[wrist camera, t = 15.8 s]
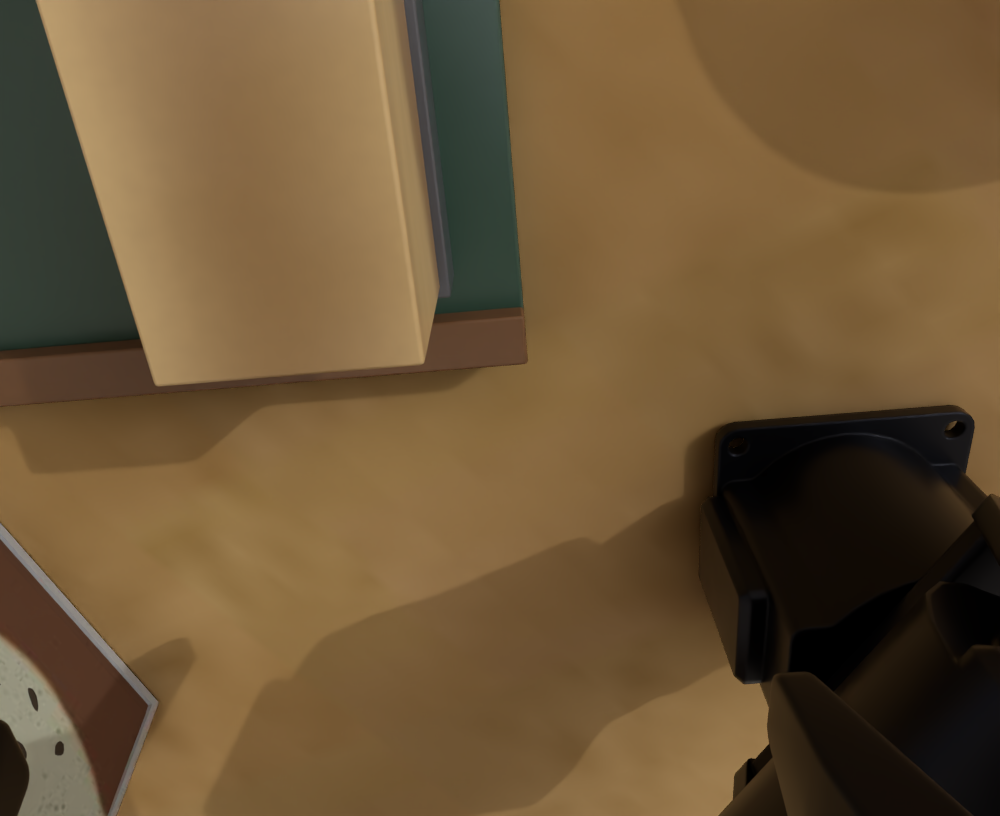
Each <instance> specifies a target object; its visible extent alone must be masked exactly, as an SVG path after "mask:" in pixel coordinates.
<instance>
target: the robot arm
mask: <svg viewBox="0 0 1000 816" xmlns="http://www.w3.org/2000/svg"><path fill="white" fill-rule="evenodd" d="M953 421H957V423H956V425H955V426H954V427H953V428H952V429H951V430H947V431H944V430H945V428H946V426H947V425H948V424H949V423H951V422H953ZM974 428H975V427H974V420H973V419H972V417H971V416H970V415H969V414H968V413H967V412H966V411H964V410H963V409H962V408H960V407H958V406H953V405H946V406H934V407H921V408H908V409H895V410H883V411H870V412H857V413H844V414H831V415H819V416H806V417H793V418H780V419H767V420H755V421H742V422H733V423H729V424H727V425H725V426H724V427H722V428H721V429H720V430H719V432H718V433H717V435H716V439H715V456H714V483H713V497H708V498H707V499H706V500H705V501H704V502H703V503H702V505H701V513H700V547H699V578H700V581H701V584H702V586H703V589H704V592H705V595H706V598H707V601H708V604H709V606H710V609H711V612H712V615H713V618H714V621H715V624H716V626H717V629H718V632H719V635H720V638H721V641H722V643H723V646H724V649H725V652H726V655H727V658H728V661H729V663H730V666H731V669H732V672H733V675H734V676H735V677H736V678H737V679H738V680H739V681H740V682H742V683H743V684H755V683H760V686H761V688H762V691H763V693H764V696H765V699H766V701H767V704H768V706H769V712H768V722H767V730H768V739H769V745H768V746H767V747H766V748H765V749H764V750H763V751H762V752H761V753H760V754H759V755H758V757H757V758H756V759H752V758H750V759H748V760H747V761H746V762H745V763H744V765H743V766H742V767H741V768H740V769H739V770H738V771H737V772H736V773H735V776H734V790H733V801H732V802H731V803H730V804H729V805H728V806H727V807H726V808H725V809H724V810H723V811H722V812H721V813H720V815H719V816H1000V497H998V496H996V495H993V494H990V495H989V496H988V497H987V496H986V495H985V493H984V492H983V491H982V490H981V489H980V488H979V487H978V486H977V485H976V484H975V483H974V482H973V481H972V480H971V479H970V478H969V477H968V476H967V475H966V474H965V473H966V468H967V463H968V458H969V453H970V448H971V443H972V438H973V433H974ZM735 438H744V440H743V443H741V444H740V445H739V446H737V447H729V443H730V442H731V441H732V440H733V439H735ZM29 776H30V771H29V766H28V763H27V761H26V759H25V757H24V755H23V753H22V750H21V748H20V746H19V744H18V742H17V740H16V738H15V736H14V734H13V732H12V730H11V728H10V726H9V725H8V724H7V723H6V722H5V721H3V720H0V816H18V814H19V811H20V808H21V805H22V802H23V800H24V797H25V794H26V791H27V788H28V784H29Z"/></svg>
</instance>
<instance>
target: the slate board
mask: <svg viewBox="0 0 1000 816" xmlns="http://www.w3.org/2000/svg"><path fill="white" fill-rule="evenodd" d="M422 4H423V13H424V21H425V30H426V38H427V47H428V56H429V64H430V73H431V81H432V90H433V98H434V107H435V115H436V124H437V133H438V141H439V150H440V158H441V167H442V175H443V184H444V192H445V201H446V210H447V218H448V227H449V235H450V244H451V252H452V261H453V270H454V279H453V285H452V291H451V296H450V297H448V298H437V303H436V308H435V313H434V318H433V323H432V328H431V333H430V338H429V343H428V348H427V352H426V357H425V361H424V364H421V365H416V366H403V367H391V368H379V369H367V370H354V371H342V372H330V373H318V374H305V375H293V376H281V377H268V378H256V379H244V380H232V381H219V382H207V383H195V384H183V385H170V386H156V385H155V384H154V381H153V378H152V375H151V372H150V368H149V365H148V362H147V359H146V356H145V352H144V349H143V346H142V343H141V339H140V336H139V333H138V330H137V326H136V323H135V320H134V317H133V313H132V310H131V307H130V304H129V301H128V297H127V294H126V291H125V288H124V284H123V281H122V278H121V275H120V271H119V268H118V265H117V262H116V259H115V255H114V252H113V249H112V246H111V242H110V239H109V236H108V233H107V229H106V226H105V223H104V220H103V217H102V213H101V210H100V207H99V204H98V200H97V197H96V194H95V191H94V187H93V184H92V181H91V178H90V174H89V171H88V168H87V165H86V162H85V158H84V155H83V152H82V149H81V145H80V142H79V139H78V136H77V132H76V129H75V126H74V123H73V120H72V116H71V113H70V110H69V107H68V103H67V100H66V97H65V94H64V90H63V87H62V84H61V81H60V78H59V74H58V71H57V68H56V65H55V61H54V58H53V55H52V52H51V48H50V45H49V42H48V39H47V36H46V32H45V29H44V26H43V23H42V19H41V16H40V13H39V10H38V6H37V3H36V0H0V407H3V406H15V405H28V404H40V403H52V402H64V401H77V400H89V399H101V398H113V397H126V396H138V395H150V394H162V393H175V392H187V391H199V390H211V389H224V388H236V387H248V386H260V385H273V384H285V383H297V382H309V381H322V380H334V379H346V378H358V377H371V376H383V375H395V374H407V373H420V372H432V371H444V370H456V369H469V368H481V367H493V366H505V365H518V364H526V363H527V361H528V358H527V345H526V332H525V320H524V308H523V295H522V282H521V270H520V257H519V244H518V232H517V219H516V206H515V193H514V181H513V168H512V155H511V143H510V130H509V117H508V105H507V92H506V79H505V66H504V54H503V41H502V28H501V16H500V3H499V0H422Z"/></svg>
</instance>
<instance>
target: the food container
mask: <svg viewBox="0 0 1000 816" xmlns="http://www.w3.org/2000/svg"><path fill="white" fill-rule="evenodd" d="M158 704H159V702H158V701H157V700H156V699H155V698H154V697H153V695H152V694H151V693H150V692H149V691H148V690H147V689H146V688H145V686H144V685H143V684H142V683H141V682H140V681H139V680H138V678H137V677H136V676H135V675H134V674H133V673H132V672H131V671H130V669H129V668H128V667H127V666H126V665H125V664H124V663H123V661H122V660H121V659H120V658H119V657H118V656H117V655H116V654H115V652H114V651H113V650H112V649H111V648H110V647H109V646H108V644H107V643H106V642H105V641H104V640H103V639H102V638H101V637H100V635H99V634H98V633H97V632H96V631H95V630H94V629H93V627H92V626H91V625H90V624H89V623H88V622H87V621H86V620H85V618H84V617H83V616H82V615H81V614H80V613H79V612H78V611H77V609H76V608H75V607H74V606H73V605H72V604H71V603H70V601H69V600H68V599H67V598H66V597H65V596H64V595H63V594H62V592H61V591H60V590H59V589H58V588H57V587H56V586H55V584H54V583H53V582H52V581H51V580H50V579H49V578H48V577H47V575H46V574H45V573H44V572H43V571H42V570H41V569H40V567H39V566H38V565H37V564H36V563H35V562H34V561H33V560H32V558H31V557H30V556H29V555H28V554H27V553H26V552H25V551H24V549H23V548H22V547H21V546H20V545H19V544H18V543H17V541H16V540H15V539H14V538H13V537H12V536H11V535H10V534H9V532H8V531H7V530H6V529H5V528H4V527H3V526H2V524H1V523H0V720H3V721H5V722H6V723H7V724H8V725H9V726H10V728H11V730H12V732H13V734H14V736H15V738H16V740H17V742H18V744H19V746H20V748H21V750H22V753H23V755H24V757H25V759H26V761H27V763H28V766H29V771H30V776H29V784H28V788H27V791H26V794H25V797H24V800H23V802H22V805H21V808H20V811H19V814H18V816H117V813H118V811H119V808H120V805H121V803H122V800H123V797H124V795H125V792H126V789H127V787H128V784H129V781H130V779H131V776H132V773H133V771H134V768H135V765H136V763H137V760H138V757H139V755H140V752H141V749H142V746H143V744H144V741H145V738H146V736H147V733H148V730H149V728H150V725H151V722H152V720H153V717H154V714H155V712H156V709H157V706H158Z"/></svg>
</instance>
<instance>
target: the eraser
mask: <svg viewBox="0 0 1000 816" xmlns="http://www.w3.org/2000/svg"><path fill="white" fill-rule="evenodd" d="M36 3H37V6H38V10H39V13H40V16H41V19H42V23H43V26H44V29H45V32H46V36H47V39H48V42H49V45H50V48H51V52H52V55H53V58H54V61H55V65H56V68H57V71H58V74H59V78H60V81H61V84H62V87H63V90H64V94H65V97H66V100H67V103H68V107H69V110H70V113H71V116H72V120H73V123H74V126H75V129H76V132H77V136H78V139H79V142H80V145H81V149H82V152H83V155H84V158H85V162H86V165H87V168H88V171H89V174H90V178H91V181H92V184H93V187H94V191H95V194H96V197H97V200H98V204H99V207H100V210H101V213H102V217H103V220H104V223H105V226H106V229H107V233H108V236H109V239H110V242H111V246H112V249H113V252H114V255H115V259H116V262H117V265H118V268H119V271H120V275H121V278H122V281H123V284H124V288H125V291H126V294H127V297H128V301H129V304H130V307H131V310H132V313H133V317H134V320H135V323H136V326H137V330H138V333H139V336H140V339H141V343H142V346H143V349H144V352H145V356H146V359H147V362H148V365H149V368H150V372H151V375H152V378H153V381H154V384H155V385H156V386H170V385H183V384H195V383H207V382H219V381H232V380H244V379H256V378H268V377H281V376H293V375H305V374H318V373H330V372H342V371H354V370H367V369H379V368H391V367H403V366H416V365H421V364H424V361H425V357H426V352H427V348H428V343H429V338H430V333H431V328H432V323H433V318H434V313H435V308H436V303H437V298H448V297H450V296H451V291H452V285H453V279H454V270H453V261H452V252H451V244H450V235H449V227H448V218H447V210H446V201H445V192H444V184H443V175H442V167H441V158H440V150H439V141H438V133H437V124H436V115H435V107H434V98H433V90H432V81H431V73H430V64H429V56H428V47H427V38H426V30H425V21H424V13H423V4H422V0H36Z"/></svg>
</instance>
